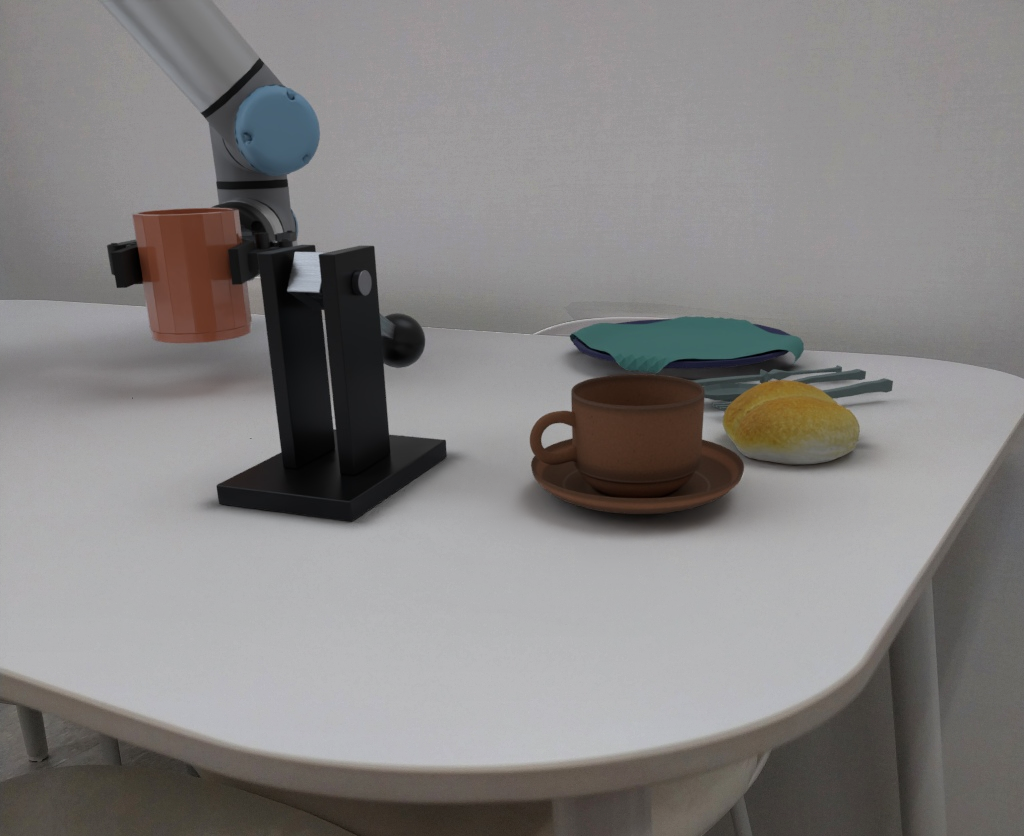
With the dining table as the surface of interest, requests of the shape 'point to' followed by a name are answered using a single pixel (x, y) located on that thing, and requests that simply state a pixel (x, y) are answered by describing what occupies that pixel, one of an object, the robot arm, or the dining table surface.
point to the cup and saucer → (634, 448)
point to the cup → (191, 274)
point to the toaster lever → (397, 330)
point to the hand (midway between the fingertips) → (177, 268)
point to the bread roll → (790, 424)
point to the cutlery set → (710, 353)
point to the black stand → (328, 397)
